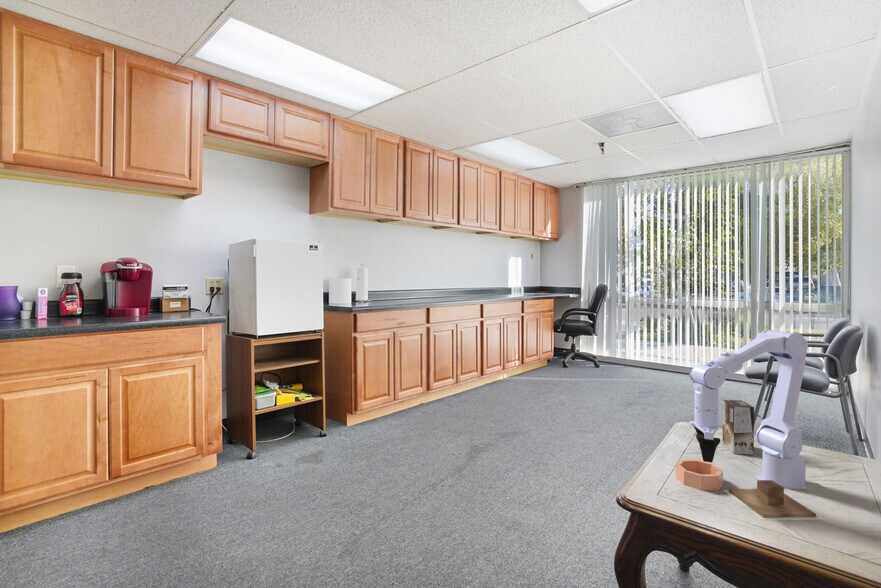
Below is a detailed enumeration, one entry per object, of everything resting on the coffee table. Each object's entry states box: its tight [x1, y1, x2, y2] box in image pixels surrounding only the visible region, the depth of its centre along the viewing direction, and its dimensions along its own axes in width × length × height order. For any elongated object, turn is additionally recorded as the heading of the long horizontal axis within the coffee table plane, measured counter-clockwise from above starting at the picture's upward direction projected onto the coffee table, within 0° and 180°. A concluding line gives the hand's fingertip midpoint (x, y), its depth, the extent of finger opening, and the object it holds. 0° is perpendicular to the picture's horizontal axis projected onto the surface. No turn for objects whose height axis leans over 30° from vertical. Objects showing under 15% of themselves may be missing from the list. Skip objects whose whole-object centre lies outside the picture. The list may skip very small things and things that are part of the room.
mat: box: [722, 489, 824, 521], centre depth 114 cm, size 15×15×1 cm
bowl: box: [675, 459, 724, 491], centre depth 128 cm, size 11×11×4 cm
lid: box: [728, 479, 817, 518], centre depth 114 cm, size 13×13×5 cm
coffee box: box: [722, 399, 755, 456], centre depth 151 cm, size 9×6×16 cm
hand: (706, 456), depth 123 cm, fingers open, 7 cm apart
